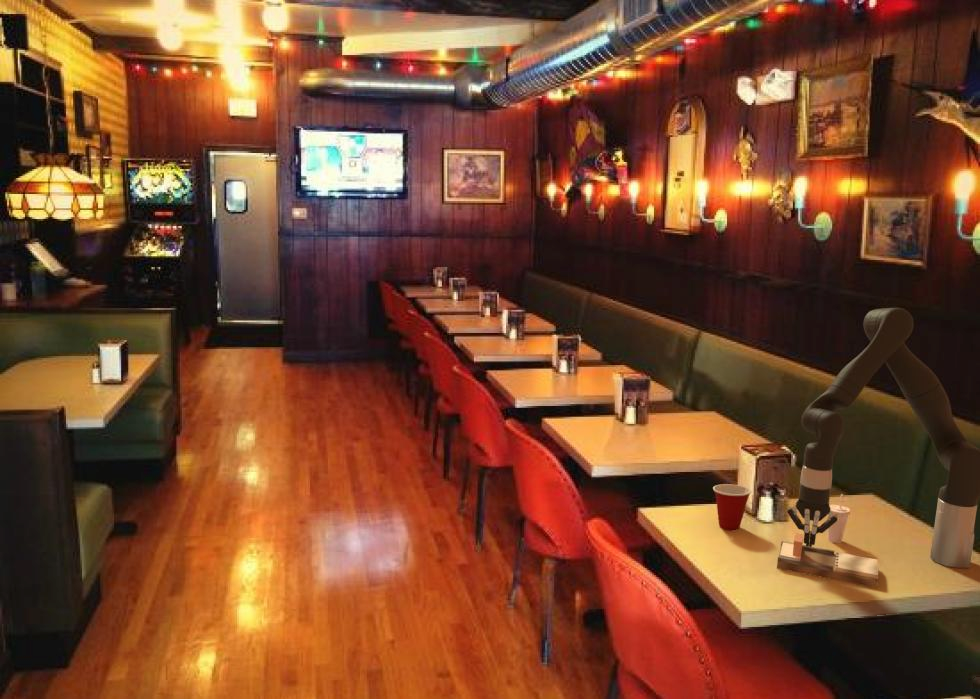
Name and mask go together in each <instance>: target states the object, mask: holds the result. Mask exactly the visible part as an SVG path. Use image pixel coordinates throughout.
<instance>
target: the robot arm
mask: <svg viewBox="0 0 980 699" xmlns="http://www.w3.org/2000/svg"><path fill="white" fill-rule="evenodd" d="M914 323H915V322H914V318H913V316H912V315H911V313H910V312H909V311H908V310H906V309H904V308H901V307H886V308H885V307H884V308H876V309H873V310H869V311H868V313H866V315H865V316H864V319H863V323H862V324H863V331H864V333H865V335H866V337H867V339H868V341H869V342H870V343H869V344H868V345H867V347H865V348H864V349H863V350H862V352H860V353H859V354H858V355H857V356H856V357H855V358H853V359H852V360H851V361H850V362H849V363H848V364H846V365H845V366H844V367H843V368H842V369H841V370H840V372H839V373H838V374H837V375H836V377H835V378H834V380H833V381H832V382H831V384H830V386H828V388H827V389H826V391H825V392H824V393H821V395H819V396H818V397H817V398H816V399H814V401H813V402H811V403H810V404H809V405H808V406H807V407H806V408H805V410H804V412H803V413H802V416H801V421H800V422H801V426H802V428H803V430H805V431H806V432H808V433H810V434H813V435H816V436H819V439H818V440H817V442H809V443H808V444H806V445H805V449H804V456H803V464H802V469H801V472H800V473H801V474H800V479H799V492H798V498H797V499H798V500H797V501H796V502H795V505H793V506H788V508H787V511H786V513H787V514H788V516H789V517H790V519H791V520H792V522H793V523H794V525H795V526H796V528H797V529H798V530H802V531H803V532H804V533H803V544H805V545H806V546H809V547H813V546H815V545H816V538H817V534H824V533H825V532H826V531H827V529H828V528H829V527H830V526H832V525H833V524H834V523H835V522H836V521H837V518H838V516H837V515H836V514H833V513H832V512H831V511H830V506H829V505H830V500H831V499H830V498H831V492H832V491H831V490H832V489H831V488H832V484H833V482H832V481H833V462H834V454H835V452H836V449H837V447H838V446H839V443H840V441H841V438H842V436H843V433H844V430H845V428H844V427H845V424H844V420H843V417H842V415H840V413H838V412H836V411H837V410H848V409H849V408H851V407H852V405H854V404H855V401H856V400H857V399H858V397H859V396H860V394H861V393H862V392H863V390H864V388H865V387H866V385H867V384H868V383H869V381H870V380H871V379H872V377H874V375H875V374H876V373H877V372H878V371H879V369H881V367H882V366H883V365H884V364H886V366H887V368H888V369H889V372H890V373H891V375H892V376H893V377H894V380H895V382H896V383H897V385H898V386H899V388H900V390H901V392H902V395H903V396H904V398H905V400H906V401H907V403H908V404H909V406H910V408H911V409H912V411H913V413H914V414H915V416H916V417H917V419H918V420H919V422H920V424H921V425H922V426H923V428H924V429H925V431H926V433H927V434H928V436H929V438H930V440H931V442H932V445H933V447H934V449H935V453H936V454H937V457H938V459H939V461H940V463H941V465H942V466H943V467H944V469H946V471H948V475H947V479H946V484H945V485H943V486H941V487H940V488H939V490H938V497H937V506H936V513H935V518H934V520H935V521H934V525H933V533H932V534H933V535H932V541H931V547H930V554H929V556H930V559H931V560H932V561H934V562H935V563H937V564H940V565H942V566H947V567H950V568H967V569H970V568H971V562H972V554H973V548H974V542H975V532H974V531H975V530H974V529H975V523H976V522H975V521H976V516H977V510H978V504H979V503H978V502H979V499H980V448H978V447H976V446H975V445H973V444H972V443H970V441H968V439H967V438H966V437H965V435H963V433H962V431H961V430H960V428H959V426H957V424H956V421H955V420H954V417H953V416H954V415H953V412H952V407H951V402H950V400H949V396H948V394H947V392H946V390H945V389H944V387H943V385H942V384H941V382H940V380H939V378H938V376H937V375H936V374H935V372H933V371H932V369H930V368H929V366H927V365H926V364H925V363H924V362H922V360H920V359H919V358H918V357H916V355H915V354H914V353H913V352H912V351H911V350H910V349H909V348H908V346H907V345H906V344H905V341H907V340H908V338H909V337H910V335H911V334H912V332H913V329H914ZM798 512H799V514H800V517H802V518H803V520H804V523H803V521H802V520H801V519H800V517H799V516H798ZM827 515H828V517H827ZM825 517H826V518H827V519H826V521H824V522H823V523H822V524H821V525H819V522H821V521H822V520H823V519H824V518H825ZM811 521H812V524H811ZM818 525H819V526H818Z"/></svg>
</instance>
